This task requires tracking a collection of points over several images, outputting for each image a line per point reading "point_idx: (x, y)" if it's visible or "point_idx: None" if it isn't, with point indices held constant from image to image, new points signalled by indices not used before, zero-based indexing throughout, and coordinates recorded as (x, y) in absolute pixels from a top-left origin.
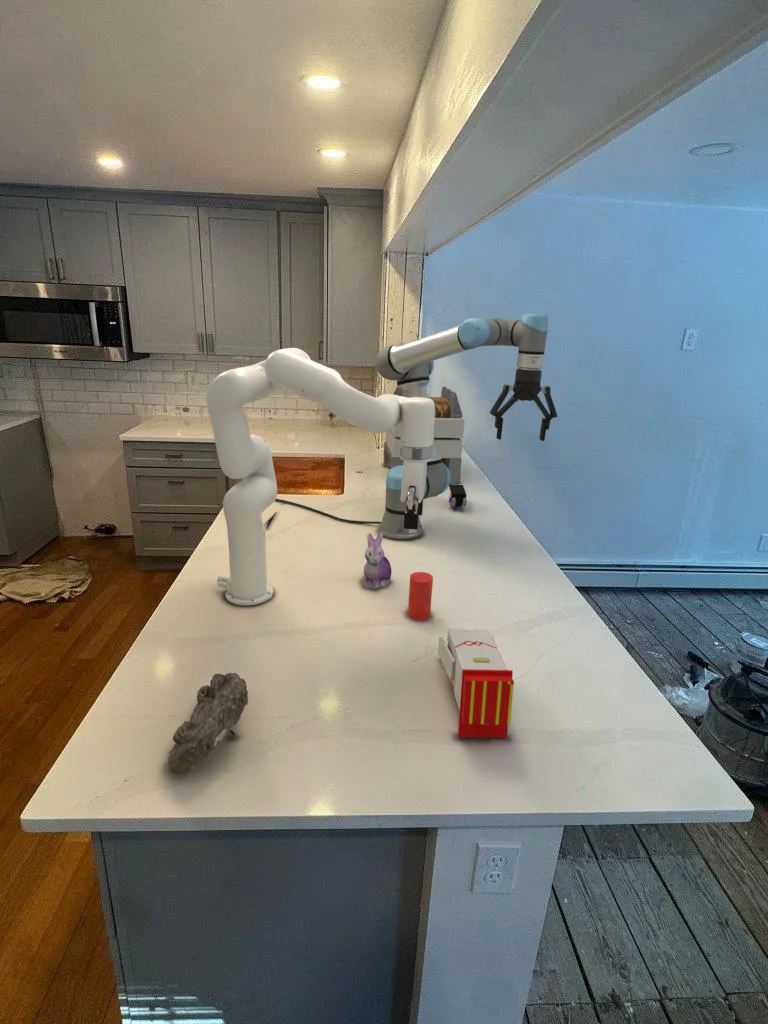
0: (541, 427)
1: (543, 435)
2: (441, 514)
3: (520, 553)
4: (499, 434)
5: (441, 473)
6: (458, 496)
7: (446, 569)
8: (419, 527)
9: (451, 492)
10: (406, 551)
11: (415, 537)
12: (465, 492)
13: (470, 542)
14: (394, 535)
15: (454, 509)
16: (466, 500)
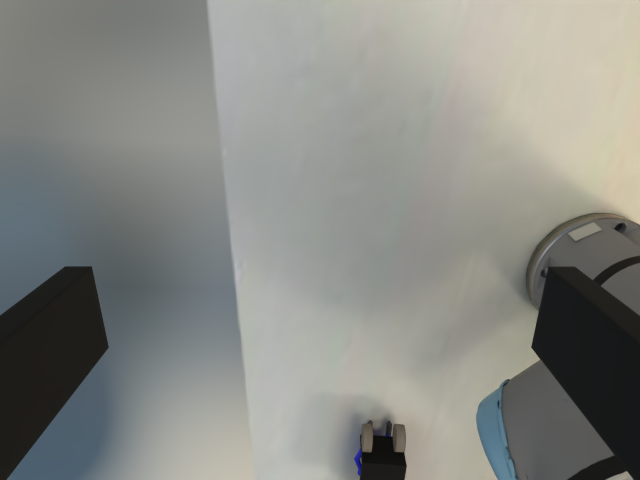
0: (26, 427)
1: (49, 296)
2: (431, 394)
3: (275, 135)
4: (604, 293)
5: (542, 434)
6: (384, 458)
7: (535, 4)
8: (557, 254)
9: (405, 472)
10: (613, 136)
11: (561, 226)
12: (361, 476)
13: (404, 209)
14: (631, 221)
15: (389, 422)
16: (365, 437)
